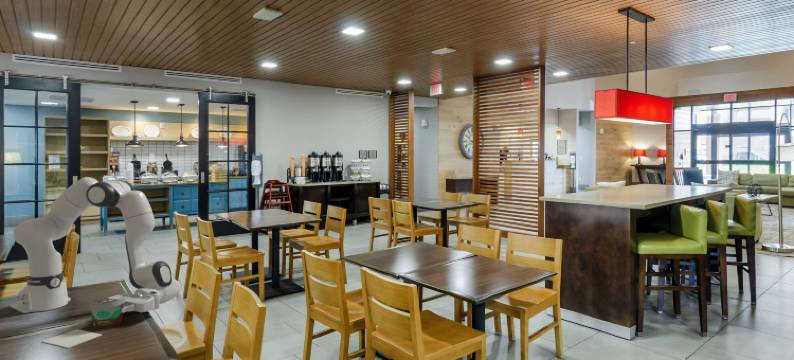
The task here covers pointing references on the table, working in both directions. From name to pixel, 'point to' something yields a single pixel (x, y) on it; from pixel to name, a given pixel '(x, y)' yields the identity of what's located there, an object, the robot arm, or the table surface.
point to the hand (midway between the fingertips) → (112, 308)
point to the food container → (107, 312)
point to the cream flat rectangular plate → (72, 338)
